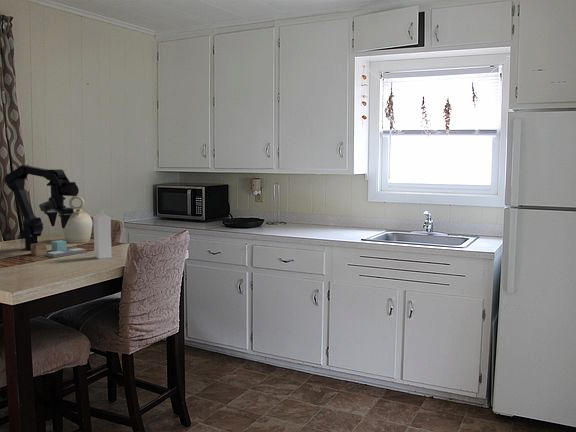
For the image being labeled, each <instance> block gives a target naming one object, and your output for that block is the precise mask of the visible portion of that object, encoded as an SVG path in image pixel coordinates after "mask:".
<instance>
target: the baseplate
mask: <svg viewBox="0 0 576 432" xmlns="http://www.w3.org/2000/svg"><path fill="white" fill-rule="evenodd" d="M87 253H88V251H87V249H85V248H80V247H76V248H69V249H68V248H67V250H61V251H54V252H52V251H47V253H46V254H45V256H46V257H50V258H54V259H55V258H60V257H67V256H73V255H80V254H87Z"/></svg>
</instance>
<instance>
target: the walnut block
mask: <svg viewBox="0 0 576 432" xmlns="http://www.w3.org/2000/svg"><path fill="white" fill-rule="evenodd" d="M47 250H48V249H47V243H44V242H38V243H36V244H31V250H30V254H31V255H33V256H44V255H46V253H47V252H48V251H47Z"/></svg>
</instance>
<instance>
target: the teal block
mask: <svg viewBox="0 0 576 432" xmlns="http://www.w3.org/2000/svg"><path fill="white" fill-rule="evenodd" d="M50 243H51V252H54V251H61V250H67V249H68V246H67V243H68V242H66V240H63V239H62V240H61V239H60V240H52V241H51V242H50Z"/></svg>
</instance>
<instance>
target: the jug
mask: <svg viewBox="0 0 576 432" xmlns="http://www.w3.org/2000/svg"><path fill="white" fill-rule="evenodd" d="M75 199H78V200H79V201H80V202H81V204H80V205H79V206H77V207H75V206H74V205H73V203H72V202H73V200H75ZM68 205H69V208H72V209H73V210H74V213H73V214H72V215H71V216H70V218H69V220H68V222H67V224H66V226H65V228H62V232H63V237H64V241H66V242H67V243H68V244H70V243H71V244H81V243H87V242H90V240H91V236H92V230H93V219H92V217H91V216H90V214H88V213H87V212H86V211H84V210H82V209H83V208H84V206H85V200H84V198H83V197H82V196H80V195H77V196H70V199H69V200H68Z"/></svg>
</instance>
